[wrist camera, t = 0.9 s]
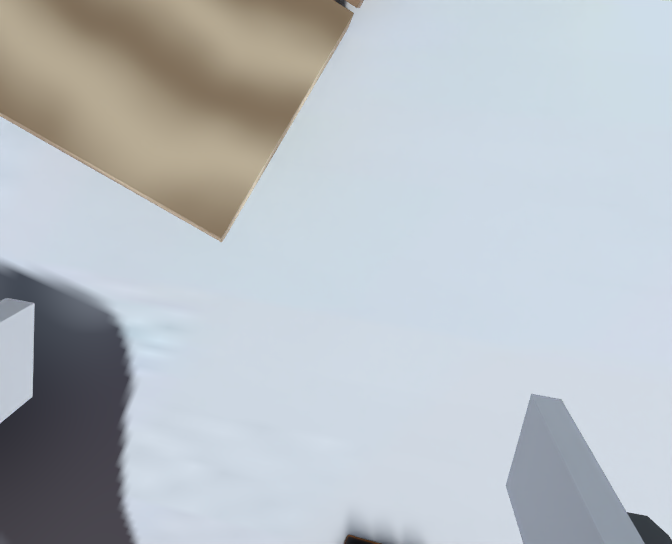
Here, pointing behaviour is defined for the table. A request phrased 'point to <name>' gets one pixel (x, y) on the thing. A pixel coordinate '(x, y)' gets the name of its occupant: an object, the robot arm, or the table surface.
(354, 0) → the walnut board
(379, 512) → the table surface
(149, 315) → the table surface
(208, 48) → the oak plank
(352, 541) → the mechanical keyboard
